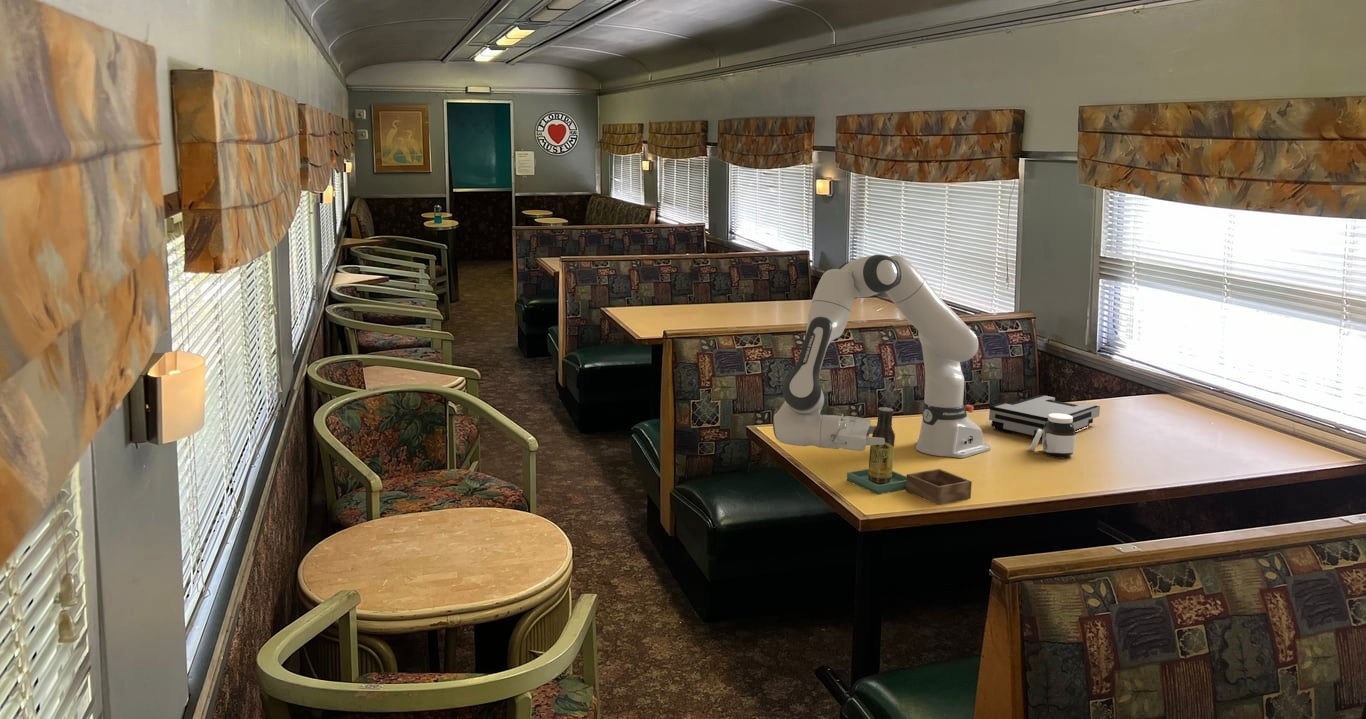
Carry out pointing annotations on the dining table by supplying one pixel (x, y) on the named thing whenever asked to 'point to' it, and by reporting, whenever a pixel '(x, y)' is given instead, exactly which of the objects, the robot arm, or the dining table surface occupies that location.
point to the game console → (1038, 414)
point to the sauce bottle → (882, 449)
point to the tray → (862, 480)
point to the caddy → (938, 486)
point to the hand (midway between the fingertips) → (885, 436)
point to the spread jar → (1056, 436)
